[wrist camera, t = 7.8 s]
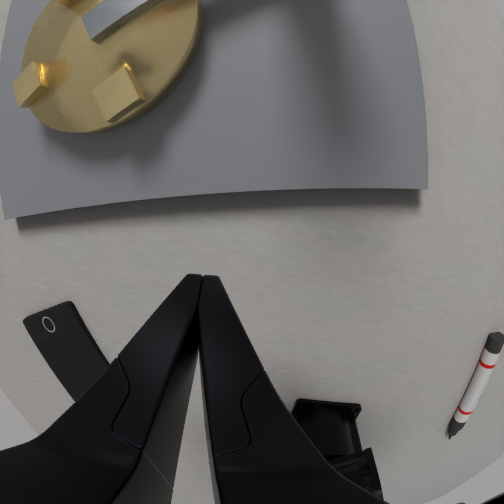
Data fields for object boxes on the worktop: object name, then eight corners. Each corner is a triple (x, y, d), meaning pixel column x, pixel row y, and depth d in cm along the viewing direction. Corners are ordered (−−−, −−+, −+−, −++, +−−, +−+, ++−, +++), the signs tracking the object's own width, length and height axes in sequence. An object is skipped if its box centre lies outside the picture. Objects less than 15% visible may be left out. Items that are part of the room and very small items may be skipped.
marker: (486, 332, 23) (496, 342, 21) (498, 329, 22) (508, 339, 21) (440, 434, 27) (445, 445, 25) (452, 430, 27) (457, 441, 25)
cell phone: (73, 297, 24) (67, 302, 24) (163, 432, 29) (161, 438, 28) (25, 316, 26) (20, 320, 25) (108, 434, 31) (106, 438, 30)
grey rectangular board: (15, 216, 22) (3, 220, 20) (22, -4, 15) (12, -8, 13) (418, 186, 19) (428, 189, 17) (373, -73, 12) (377, -83, 10)
